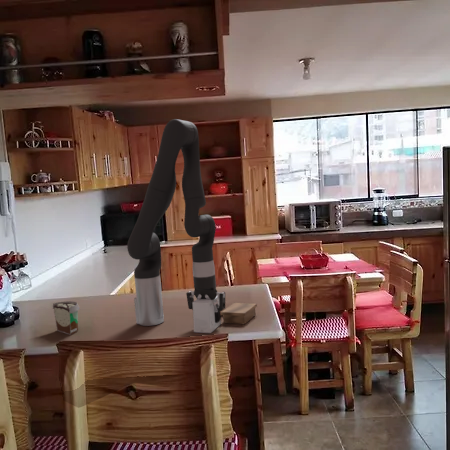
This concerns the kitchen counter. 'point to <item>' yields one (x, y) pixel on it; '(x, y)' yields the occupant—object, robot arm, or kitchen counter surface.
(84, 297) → the kitchen counter surface
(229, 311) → the stand
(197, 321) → the skincare box
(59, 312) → the food container
